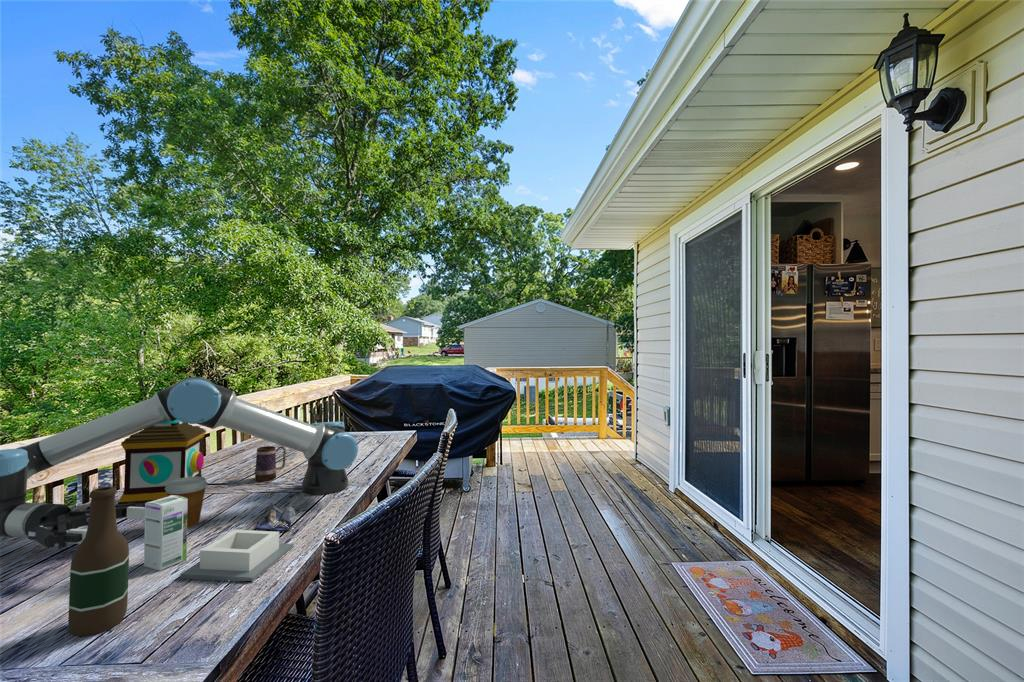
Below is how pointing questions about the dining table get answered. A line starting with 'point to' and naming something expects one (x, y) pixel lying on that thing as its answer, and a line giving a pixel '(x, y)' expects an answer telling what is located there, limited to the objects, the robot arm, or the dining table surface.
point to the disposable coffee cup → (189, 495)
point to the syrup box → (165, 532)
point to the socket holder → (238, 556)
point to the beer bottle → (99, 570)
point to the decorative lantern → (160, 459)
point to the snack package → (276, 518)
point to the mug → (267, 463)
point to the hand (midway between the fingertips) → (128, 524)
